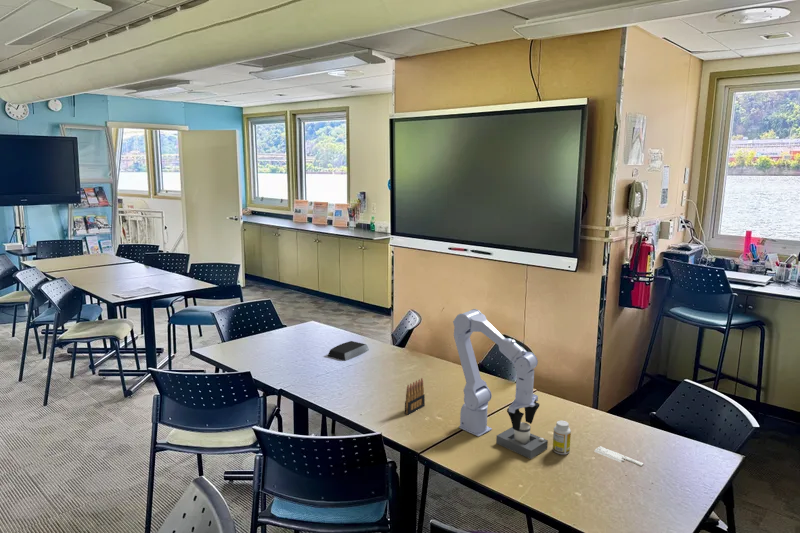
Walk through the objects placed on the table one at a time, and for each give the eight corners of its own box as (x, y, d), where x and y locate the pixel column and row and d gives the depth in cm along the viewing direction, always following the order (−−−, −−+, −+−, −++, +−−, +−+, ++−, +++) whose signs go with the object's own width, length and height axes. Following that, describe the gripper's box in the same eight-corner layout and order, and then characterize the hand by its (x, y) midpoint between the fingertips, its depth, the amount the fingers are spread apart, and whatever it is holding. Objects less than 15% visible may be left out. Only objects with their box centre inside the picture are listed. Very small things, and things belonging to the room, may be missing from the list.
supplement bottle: (565, 446, 188) (567, 418, 186) (572, 454, 183) (574, 426, 181) (549, 447, 188) (551, 419, 186) (556, 455, 182) (557, 427, 180)
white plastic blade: (636, 471, 174) (636, 468, 174) (592, 453, 185) (592, 450, 184) (643, 465, 177) (643, 462, 177) (600, 448, 188) (600, 445, 188)
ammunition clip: (421, 404, 220) (421, 376, 218) (424, 406, 219) (425, 377, 217) (404, 413, 212) (404, 384, 210) (408, 415, 211) (408, 385, 209)
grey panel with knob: (496, 443, 190) (496, 433, 189) (513, 434, 197) (513, 424, 196) (530, 459, 180) (531, 449, 179) (547, 448, 187) (547, 438, 186)
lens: (510, 442, 188) (511, 425, 187) (519, 436, 192) (519, 420, 191) (524, 447, 184) (525, 431, 183) (532, 441, 188) (533, 425, 187)
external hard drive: (370, 351, 284) (370, 343, 283) (346, 362, 268) (346, 354, 268) (350, 346, 291) (350, 339, 291) (326, 356, 276) (326, 349, 275)
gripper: (522, 398, 177) (520, 437, 179) (546, 386, 186) (544, 423, 189) (504, 391, 182) (502, 429, 184) (528, 380, 191) (526, 416, 194)
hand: (522, 426), depth 187 cm, fingers open, 7 cm apart
